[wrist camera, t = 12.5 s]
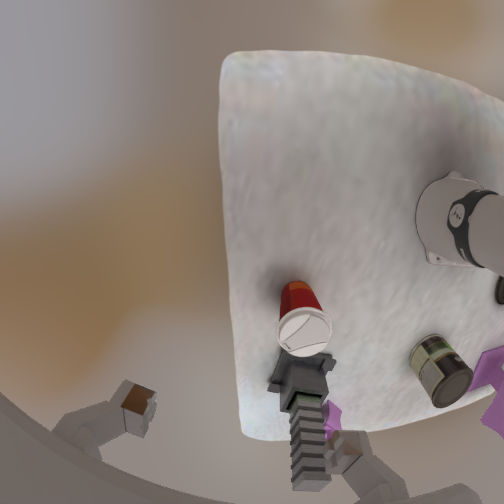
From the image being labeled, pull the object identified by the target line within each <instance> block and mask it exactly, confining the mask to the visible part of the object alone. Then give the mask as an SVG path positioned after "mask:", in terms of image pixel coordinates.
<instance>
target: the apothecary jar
mask: <svg viewBox="0 0 504 504" xmlns="http://www.w3.org/2000/svg"><path fill="white" fill-rule="evenodd" d="M496 300H497V302H498V303H499V304H504V277H502V276H500V278H499V281H498V283H497V287H496Z"/></svg>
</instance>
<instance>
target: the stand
mask: <svg viewBox="0 0 504 504" xmlns="http://www.w3.org/2000/svg"><path fill="white" fill-rule="evenodd" d="M335 364H336V360H335V359H332V356H331V355H328V354H323V353H317V354H314V355H311V356H307V357H298V356H294V355H292V354H290V353H288V351H286V350H285V349H283V351H282V354H281V356H280V359H279V361H278V364H277V366H276V369H275V371H274V374H273V376H272V378H271V381H270V384H269V387H268V390H267V391H269V392H274V393H279V392H280V412H286V413H289V409H290V406H291V405H292V403H293V401H294V399H295V397H296V395H297V393H298V394H304V395H311V396H318V397H319V398H320V401H321V402H320V406H321V405H322V403H323V402H324V400H325V398H326V397H327V395H328V393H329V391H328V386H327V382H326V378H325V376H326V374H327V372H328V371H332V369H333V368H334V366H335Z"/></svg>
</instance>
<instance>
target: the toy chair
mask: <svg viewBox="0 0 504 504" xmlns="http://www.w3.org/2000/svg"><path fill="white" fill-rule="evenodd" d="M328 405H329V416H328V419H327V421H326V422H325V423H324V424H323V426H324V430H326V434H325V438H326V441H327V440H328V439H330V438H332V433H333V432H334V431H335V430H342V428H341V423H340V416H341V413H342V411H341V410H340V409H339V408H338V407H337V406H336V405H334V404H333V403H332V402H331V401H330V400H328Z"/></svg>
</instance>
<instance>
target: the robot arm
mask: <svg viewBox="0 0 504 504" xmlns="http://www.w3.org/2000/svg"><path fill="white" fill-rule="evenodd" d="M416 225H417V231H418V234H419V237H420V239H421V241H422V243H423V244H424V246H425V249H426V256H427V260H428V262H429V263H431V264H437V265H451V266H465V267H480V268H487V269H489V270H491V271H493V272H495V273H496V274H498V275H500V276H502V277H504V196H501V195H499V194H497V193H495V192H492V191H490V190H485V189H484V187H482V186H481V185H478V183H477V182H476V181H473V180H467V179H465V178H464V177H463V176H462V175H461V174H460V173H459V172H457V171H451V172H450V173H449V174H448V175H447V176H446V177H445V178H443V179H440V180H437V181H434V182H433V183H431V184H430V185H429V186H428V187H427V188H426V189H425V190H424V192H423V193H422V195H421V197H420V200H419V203H418V206H417V212H416ZM437 257H438V259H437ZM156 398H157V392H155V391H152V390H150V389H147V388H145V387H143V386H140V385H138V384H135V383H133V382H130V381H128V380H124V381H123V382H122V384H121V385H120V386H119V388H118V389H117V391H116V392H115V394H114V395H113V397H112V398H111V400H110V401H109V402H108V401H104V402H101V403H98V404H95V405H92V406H89V407H86V408H83V409H80V410H77V411H73V412H70V413H67V414H65V415H64V416H63V417H62V418H61V420H60V421H59V422H58V423H57V425H56V426H55V427H54V429H53V430H52V431H49V430H48V429H46V428H45V427H43V426H42V425H41V424H39V423H38V422H36V421H35V420H34V419H32V418H31V417H30V416H28V415H27V414H26V413H25V412H23V411H22V410H21V409H20V408H18V407H17V406H16V405H15V404H14V403H12V402H11V401H10V400H9V399H8V398H6V397H5V396H4V395H3V394H2V393H1V392H0V504H234V503H228V502H222V501H217V500H212V499H208V498H203V497H199V496H195V495H191V494H188V493H184V492H180V491H177V490H174V489H170V488H167V487H164V486H161V485H158V484H155V483H152V482H149V481H147V480H144V479H141V478H139V477H136V476H134V475H131V474H129V473H127V472H124V471H122V470H119V469H118V468H115V467H113V466H111V465H109V464H107V463H105V462H103V461H102V457H101V454H100V451H99V448H98V447H99V446H101V445H103V444H105V443H107V442H109V441H111V440H113V439H115V438H117V437H118V436H120V435H122V434H124V433H126V432H128V433H131V434H133V435H136V436H139V437H142V438H144V436H145V434H146V432H147V430H148V423H149V422H151V421H152V419H153V417H154V414H155V411H156V405H157V404H156V402H155V400H156ZM323 455H324V457H325V458H326V459H327V461H326V462H325V471H326V474H342V476H343V477H344V479H345V480H346V482H347V483H348V484H349V485H350V487H351V488H352V489H353V490H354V491H355V493H356V494H357V495H358V497H359V498H360V500H359V501H357V502H356V503H355V504H482V502H481V499H480V497H479V495H478V494H477V493H476V492H475V491H473V490H472V489H470V488H469V487H468V486H466V485H464V484H462V483H458V484H454V485H452V486H449V487H446V488H443V489H440V490H437V491H434V492H430V493H427V494H423V495H419V496H416V497H412V498H409V494H408V491H407V488H406V484H405V481H404V480H403V479H402V478H401V477H400V476H399V475H398V474H396V473H395V472H394V471H393V470H392V469H391V468H390V467H388V466H387V465H386V464H385V463H384V462H383V461H382V460H380V459H379V458H378V457H377V456H376V455H373V453H372V449H371V446H370V443H369V439H368V436H367V433H366V432H365V431H355V430H335V431H334V432H333V433H332V438H330V439H328V440H327V441H326V443H325V445H324V448H323Z"/></svg>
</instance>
